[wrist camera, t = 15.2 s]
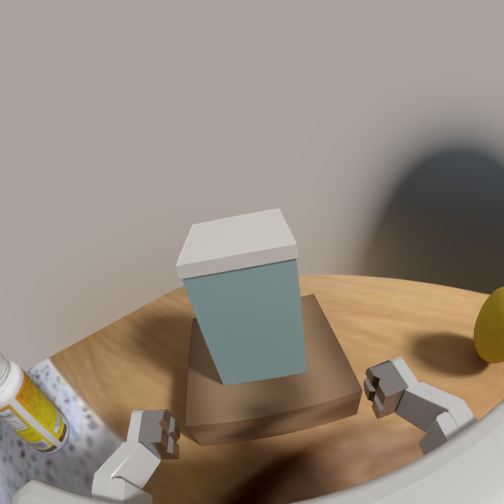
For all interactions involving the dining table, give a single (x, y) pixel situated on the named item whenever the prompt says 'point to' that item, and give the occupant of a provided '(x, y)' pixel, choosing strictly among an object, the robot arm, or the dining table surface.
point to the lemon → (491, 328)
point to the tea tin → (246, 295)
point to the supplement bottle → (30, 410)
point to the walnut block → (272, 390)
